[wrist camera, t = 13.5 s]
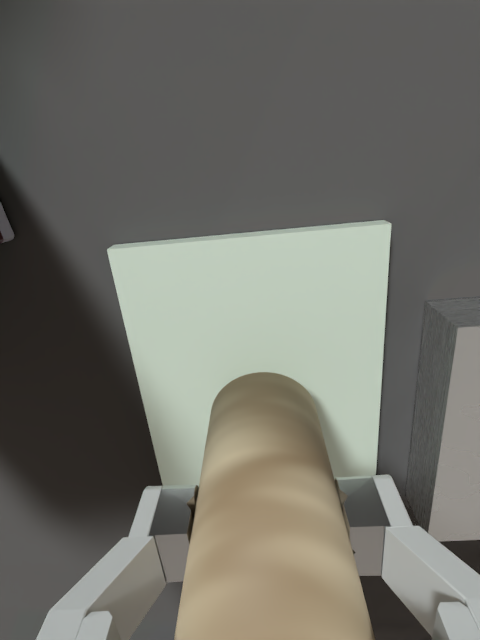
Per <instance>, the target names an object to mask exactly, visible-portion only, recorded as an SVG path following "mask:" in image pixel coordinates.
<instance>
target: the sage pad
mask: <svg viewBox="0 0 480 640" xmlns="http://www.w3.org/2000/svg"><path fill="white" fill-rule="evenodd" d="M390 237H391V223H389V222H387V221H385V220H379V221H368V222H357V223H346V224H335V225H324V226H313V227H302V228H292V229H281V230H270V231H259V232H248V233H237V234H226V235H215V236H204V237H194V238H183V239H172V240H161V241H150V242H139V243H128V244H117V245H113V246H112V247H110V248H108V249H107V253H108V257H109V261H110V265H111V270H112V274H113V278H114V282H115V286H116V291H117V295H118V299H119V303H120V308H121V312H122V316H123V320H124V324H125V329H126V333H127V337H128V341H129V346H130V350H131V354H132V358H133V362H134V367H135V371H136V375H137V379H138V383H139V388H140V392H141V396H142V400H143V405H144V409H145V413H146V417H147V421H148V426H149V430H150V434H151V438H152V443H153V447H154V451H155V455H156V459H157V464H158V468H159V472H160V476H161V481H162V485H163V486H164V485H198V487H199V482H200V476H201V470H202V464H203V457H204V451H205V445H206V439H207V433H208V427H209V420H210V414H211V409H212V405H213V402H214V400H215V398H216V396H217V394H218V393H219V392H220V391H221V389H222V388H223V387H224V386H226V385H227V384H228V383H230V382H231V381H232V380H234V379H236V378H238V377H241V376H243V375H247V374H251V373H257V372H271V373H277V374H281V375H284V376H287V377H289V378H292V379H294V380H295V381H297V382H298V383H300V384H301V385H302V386H303V387H304V388H305V389H306V390H307V391H308V392H309V393H310V395H311V396H312V398H313V400H314V403H315V406H316V410H317V414H318V417H319V421H320V425H321V429H322V433H323V437H324V441H325V445H326V449H327V453H328V457H329V461H330V464H331V468H332V472H333V476H334V480H335V478H337V477H354V476H372V475H376V465H377V449H378V433H379V416H380V400H381V384H382V367H383V351H384V335H385V318H386V302H387V286H388V270H389V253H390Z"/></svg>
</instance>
